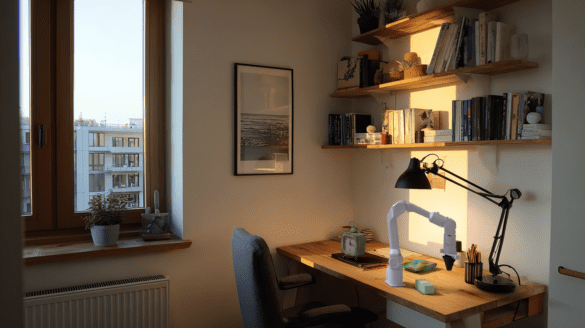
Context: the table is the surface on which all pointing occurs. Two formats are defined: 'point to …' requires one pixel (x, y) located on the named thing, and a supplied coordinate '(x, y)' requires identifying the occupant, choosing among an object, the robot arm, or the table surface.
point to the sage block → (424, 286)
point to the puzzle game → (419, 265)
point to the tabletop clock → (353, 242)
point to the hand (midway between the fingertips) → (449, 270)
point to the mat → (419, 290)
